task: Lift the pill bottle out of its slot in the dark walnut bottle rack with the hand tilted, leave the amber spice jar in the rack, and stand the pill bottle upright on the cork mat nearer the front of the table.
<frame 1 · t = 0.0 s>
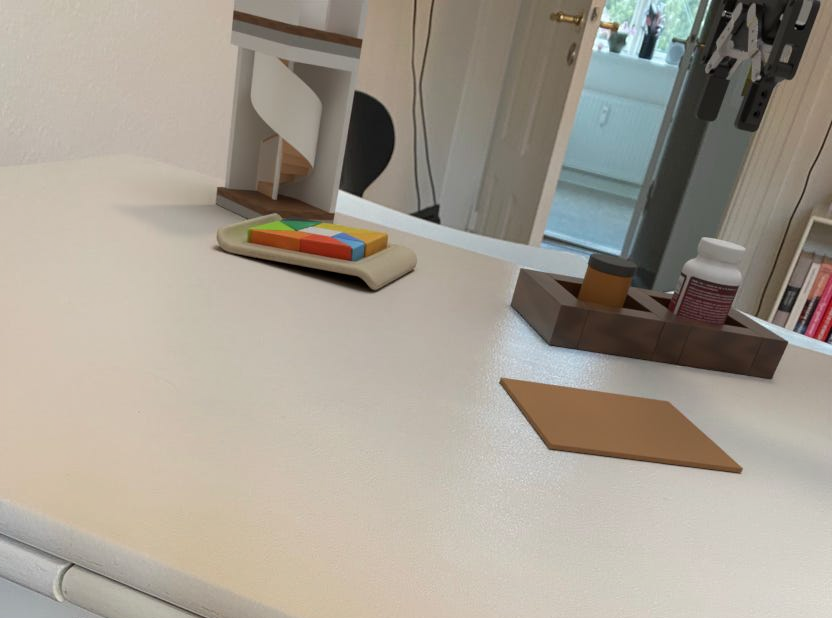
hand: (723, 124, 88), 21 cm above the table, tool pointing down, fingers open, 8 cm apart
bottle rack: (637, 340, 99), on the table
spice jar: (590, 333, 98), resting in bottle rack
wooden puzzle: (319, 261, 103), on the table
spiral staircase model: (273, 218, 119), on the table
cork mat: (613, 425, 74), on the table
pill bottle: (682, 349, 101), resting in bottle rack
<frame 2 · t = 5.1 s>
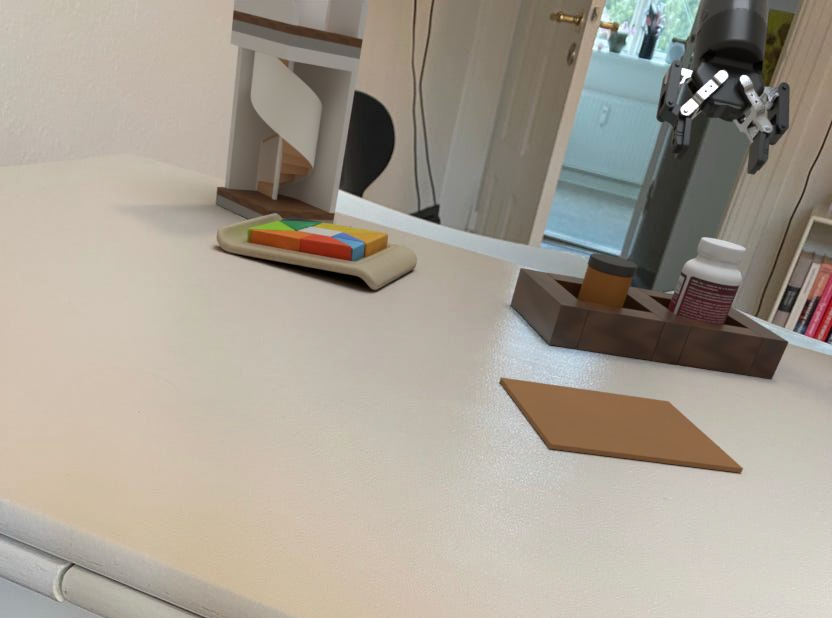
hand: (718, 162, 100), 17 cm above the table, tool tilted 45°, fingers open, 8 cm apart
nothing on the table moved.
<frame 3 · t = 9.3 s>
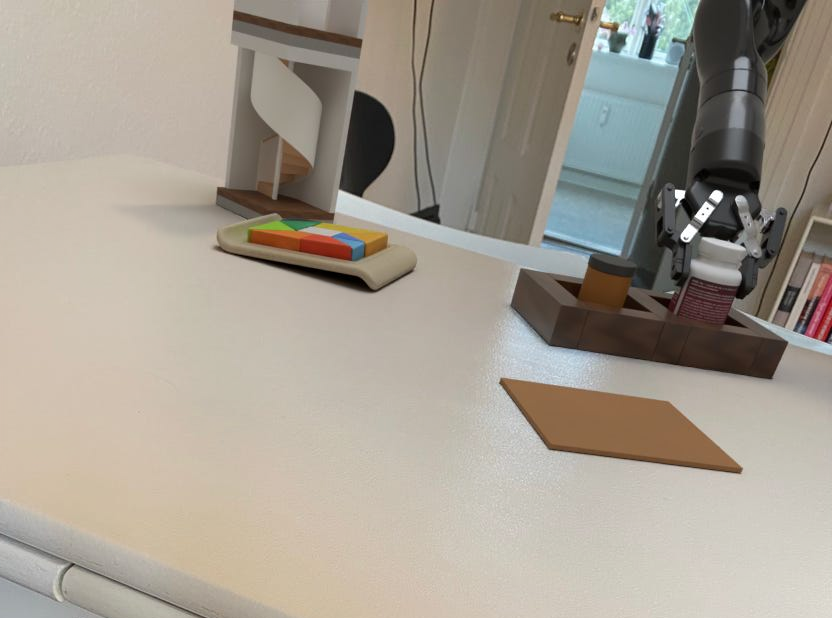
hand: (712, 288, 95), 7 cm above the table, tool tilted 45°, fingers closed on pill bottle, 6 cm apart
pill bottle: (682, 349, 101), resting in bottle rack, touching gripper
everything else where it was.
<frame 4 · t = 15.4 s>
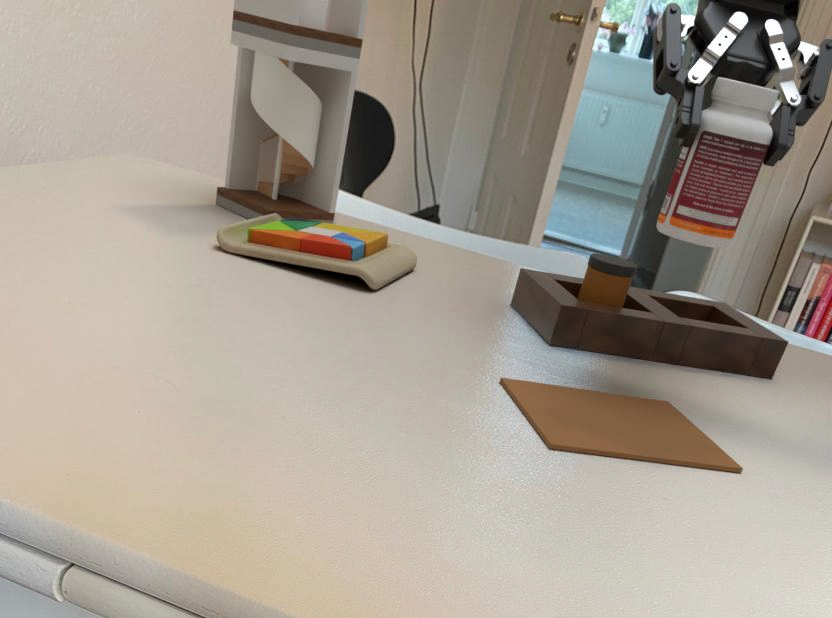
hand: (731, 148, 69), 20 cm above the table, tool tilted 45°, fingers closed on pill bottle, 6 cm apart
pill bottle: (689, 241, 74), point 13 cm above the table, touching gripper
everything else where it was.
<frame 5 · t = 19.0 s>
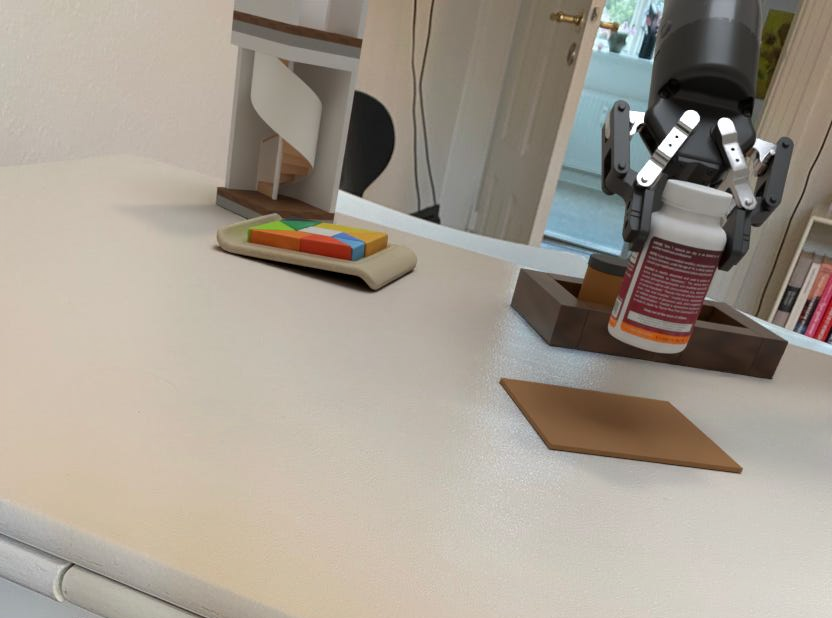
hand: (683, 254, 65), 14 cm above the table, tool tilted 45°, fingers closed on pill bottle, 6 cm apart
pill bottle: (643, 344, 70), point 7 cm above the table, touching gripper
everything else where it was.
when the fingers open (7 cm above the table, at t = 21.8 s): pill bottle stays where it is, resting on cork mat.
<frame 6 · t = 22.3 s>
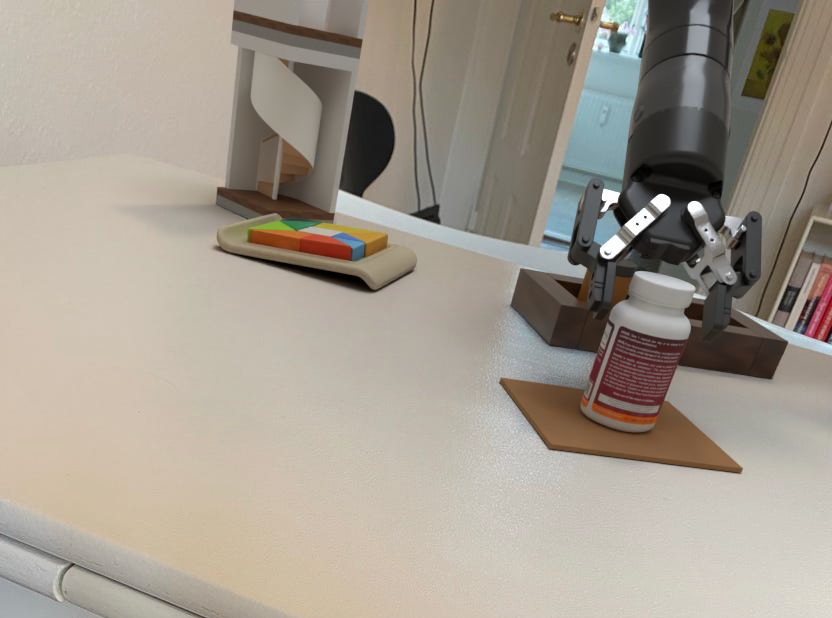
hand: (656, 325, 68), 8 cm above the table, tool tilted 45°, fingers open, 8 cm apart
pill bottle: (614, 421, 74), resting on cork mat
everything else where it was.
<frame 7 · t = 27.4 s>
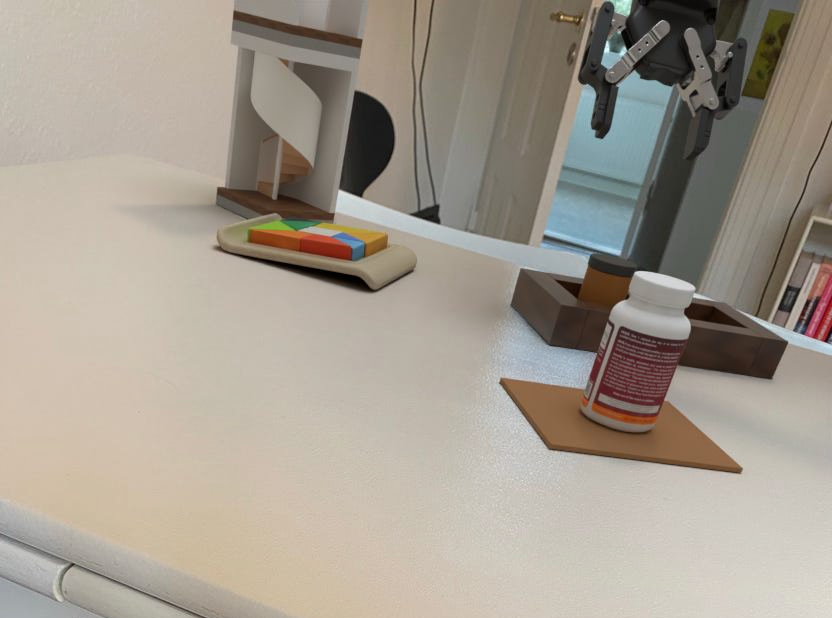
hand: (646, 146, 81), 19 cm above the table, tool tilted 30°, fingers open, 8 cm apart
nothing on the table moved.
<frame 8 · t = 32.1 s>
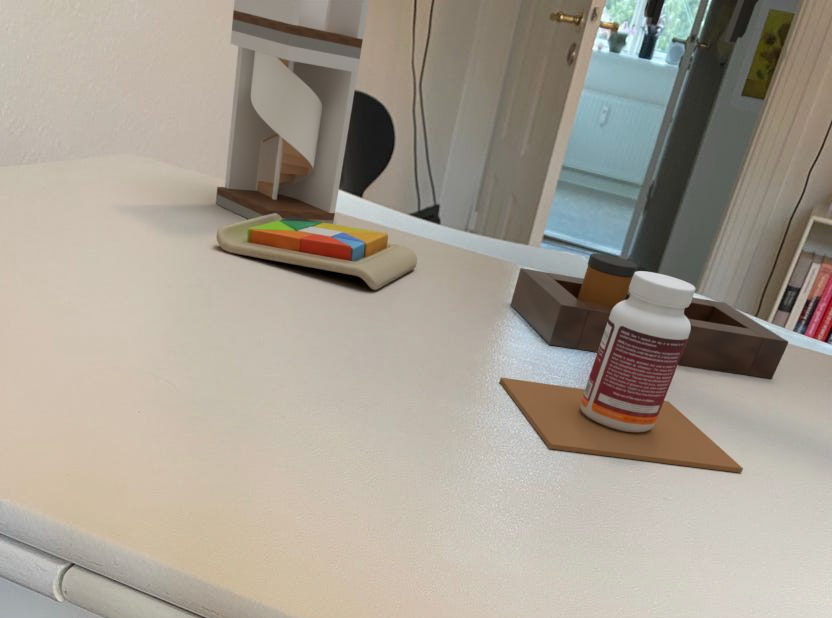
hand: (690, 33, 95), 28 cm above the table, tool pointing down, fingers open, 8 cm apart
nothing on the table moved.
at the end: pill bottle inside the target area on the cork mat (0.2 cm from its centre), point 0.2 cm above the cork mat's base; pill bottle tilted 0°; the gripper is holding nothing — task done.
